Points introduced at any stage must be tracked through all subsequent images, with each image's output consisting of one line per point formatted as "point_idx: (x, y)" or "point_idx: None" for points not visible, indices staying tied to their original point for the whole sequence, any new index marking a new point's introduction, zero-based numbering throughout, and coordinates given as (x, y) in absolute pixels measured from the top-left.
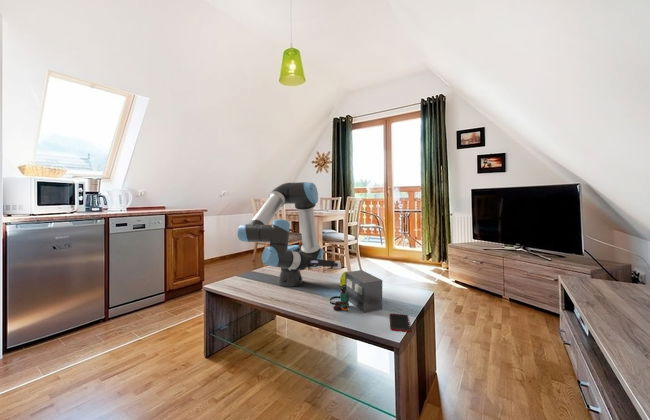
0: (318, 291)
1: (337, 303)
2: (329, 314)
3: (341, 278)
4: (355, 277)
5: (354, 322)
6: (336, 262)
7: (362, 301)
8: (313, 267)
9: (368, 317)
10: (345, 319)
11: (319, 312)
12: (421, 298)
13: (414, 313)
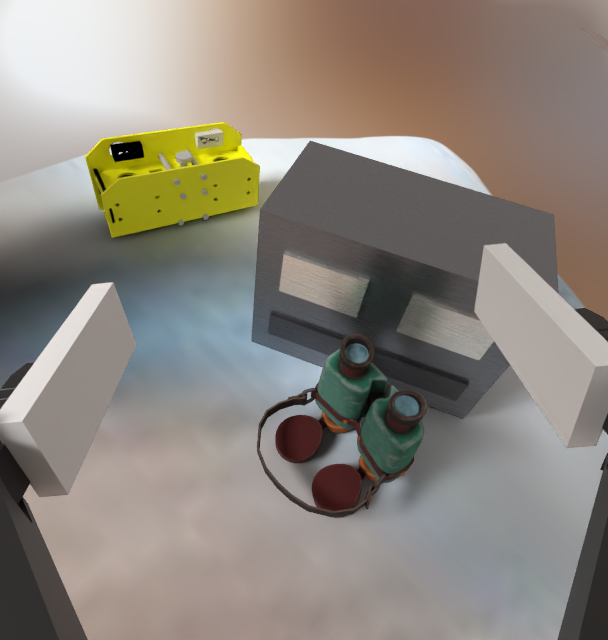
0: (23, 361)
1: (371, 495)
2: (362, 597)
3: (110, 198)
4: (416, 256)
5: (541, 556)
6: (553, 294)
7: (470, 381)
8: (83, 443)
9: (519, 446)
10: (482, 568)
11: (286, 635)
12: (467, 184)
13: (566, 291)
